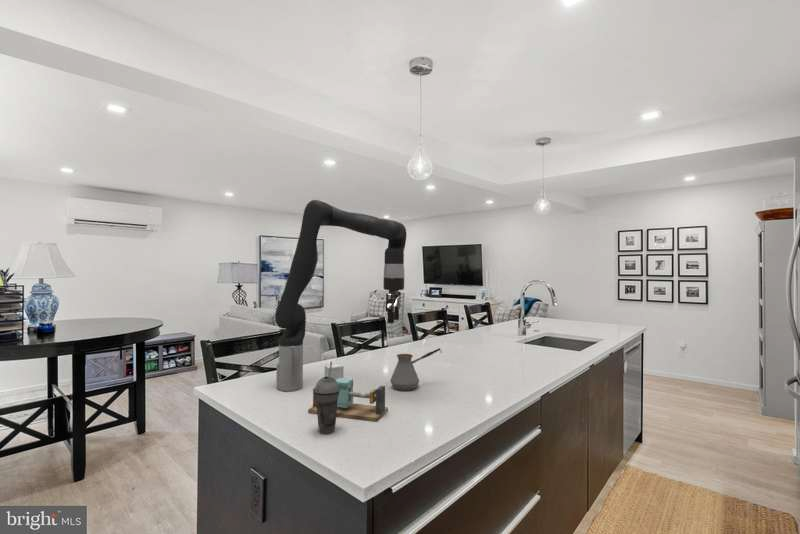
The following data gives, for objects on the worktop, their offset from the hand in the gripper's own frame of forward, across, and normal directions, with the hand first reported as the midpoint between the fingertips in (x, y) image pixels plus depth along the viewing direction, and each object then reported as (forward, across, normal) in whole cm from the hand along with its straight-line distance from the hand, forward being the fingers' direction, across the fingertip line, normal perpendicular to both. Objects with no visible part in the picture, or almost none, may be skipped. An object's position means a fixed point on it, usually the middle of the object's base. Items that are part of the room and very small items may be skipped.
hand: (393, 321), depth 141 cm
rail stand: (+28, +15, -11) cm, 34 cm away
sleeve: (+26, +15, -13) cm, 33 cm away
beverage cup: (+28, +31, -13) cm, 44 cm away
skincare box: (+29, +3, -21) cm, 36 cm away
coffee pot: (+28, -17, +6) cm, 34 cm away
